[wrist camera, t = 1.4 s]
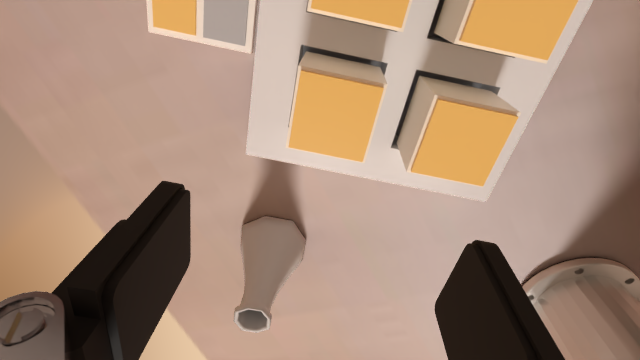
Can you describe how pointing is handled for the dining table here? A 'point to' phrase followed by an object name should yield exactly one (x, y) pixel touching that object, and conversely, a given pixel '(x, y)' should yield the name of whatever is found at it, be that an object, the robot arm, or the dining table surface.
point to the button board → (401, 75)
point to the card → (206, 21)
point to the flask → (266, 268)
